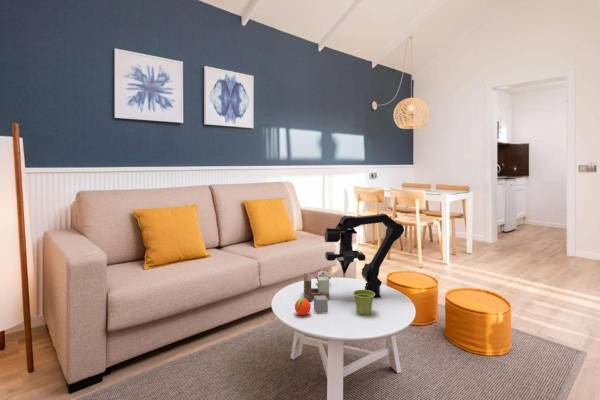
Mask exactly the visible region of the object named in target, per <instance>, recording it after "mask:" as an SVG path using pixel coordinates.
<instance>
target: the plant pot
mask: <svg viewBox="0 0 600 400" xmlns="http://www.w3.org/2000/svg"><path fill="white" fill-rule="evenodd" d="M352 295H353V297H354V301H355V308H356V309H355V310H356V313H357V314H359V315H364V316H368V315H370V314H371V313H372V308H373V300H374V299H375V298H374V296H375V293H374V292H372V291H369V290H365V289H357V290H354V291H353V292H352Z"/></svg>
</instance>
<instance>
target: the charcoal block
mask: <svg viewBox="0 0 600 400" xmlns="http://www.w3.org/2000/svg"><path fill="white" fill-rule="evenodd" d="M328 302H329V300H328V299H327V298H326V296H325V295H322V296H314V300H313V311H314V312H315V313H316V314H326V313H328V306H329V305H328V304H329V303H328Z"/></svg>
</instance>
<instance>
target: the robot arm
mask: <svg viewBox="0 0 600 400" xmlns="http://www.w3.org/2000/svg"><path fill="white" fill-rule="evenodd" d="M381 223H382V224H383V225H384V226H385V227H386V231H385V236H384V239H383V240H382V242H381V244H380V246H379V248H378V249H377V251H376V253H375V254H374V255H373V258H372V260H371V262H369V263H366V262H365V263H364V266H363V267H362V268H361V276H362V278H363V279H364V280H365V286H364V290H369V291H372V292H374V293H375V296H374V298H373V299H376V298H381V297H382V295H380V293H381V286H382V284H383V283H382V280H381V279H379V275H380V268H381V265H382V264H383V262H384V260H385V258H386V256H387V254H388V253H389V251H390V250H391V248H392V246H393V244H394V243H395V242H396V241H397V240H398V239H400V237H401V236H402V235H403V234H404V232H405V228H404V225H403V224H401V223H398V222H397V221H395V220H393V219H392V218H391V217H390V216H389V215H388V214H386V213H383V212H382V213H378V214H369V215H360V216H355V215H354V216H353V215H342V216H341V217H340V221H339V222H338V224H337V225H336V226H335V227H332V228H331V227H326V228H325V232H324V237H323V238H324V242H325V243H338V242H339V251H338V253H335V252H334V251H326V252H325V254H324V256H325V259H326V260H327V261H335V260H337V262H338V263H339V264H340V266H341V269H342V270H341V271H342V274H346V273H347V270H348V268H349V266H350V264H352V263H354V261H355V259H357V260H358V261H359V262H360V261H361V262H364V261H366V255H365V254H364V253H363V252H362V251H359V250H353V235H354V234H358V232H357V231H356V229H355V228H357V227H359V226H365V225H371V224H381Z"/></svg>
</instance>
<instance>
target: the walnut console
mask: <svg viewBox="0 0 600 400" xmlns="http://www.w3.org/2000/svg"><path fill="white" fill-rule="evenodd" d="M322 295H325V296H326V298H327V299H328V301H330V292H329V293H318V287H316V288H315V287H312V276H311V273H309V272H308V273H305V272H304V273H303V296H304V297H303V298H304V299H307V300H308V301H309V302H310V303H311V302H312V301H314V296H322Z"/></svg>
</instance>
